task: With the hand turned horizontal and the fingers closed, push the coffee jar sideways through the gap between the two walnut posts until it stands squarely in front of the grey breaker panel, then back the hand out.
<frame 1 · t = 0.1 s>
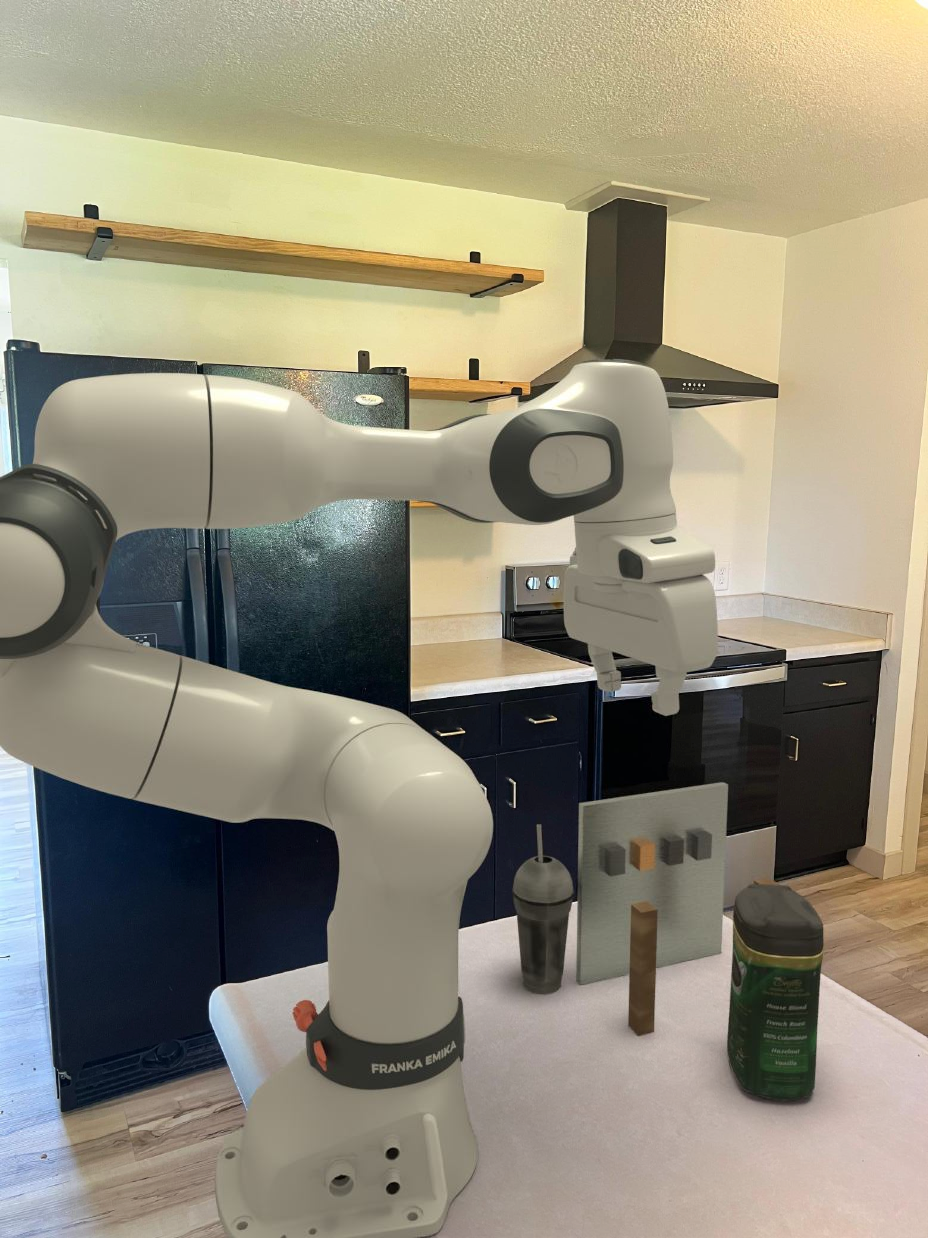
hand: (636, 700, 81), 39 cm above the countertop, tool pointing down, fingers open, 8 cm apart
breaker panel: (650, 966, 109), on the countertop
gate: (702, 1013, 100), on the countertop
coffee jar: (769, 1074, 90), on the countertop
beverage cup: (542, 985, 106), on the countertop
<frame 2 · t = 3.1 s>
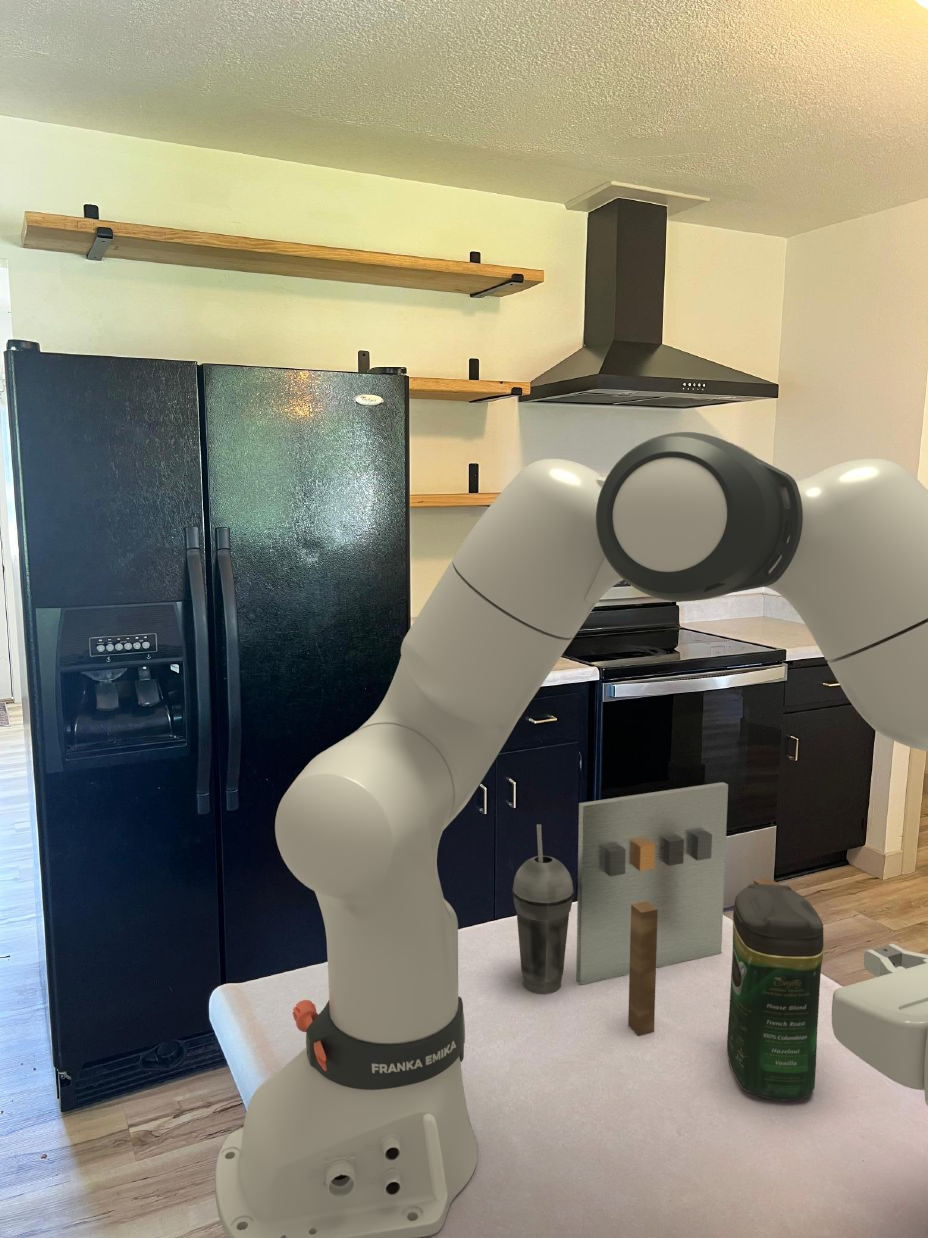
hand: (876, 955, 76), 19 cm above the countertop, tool horizontal, fingers closed
nothing on the countertop moved.
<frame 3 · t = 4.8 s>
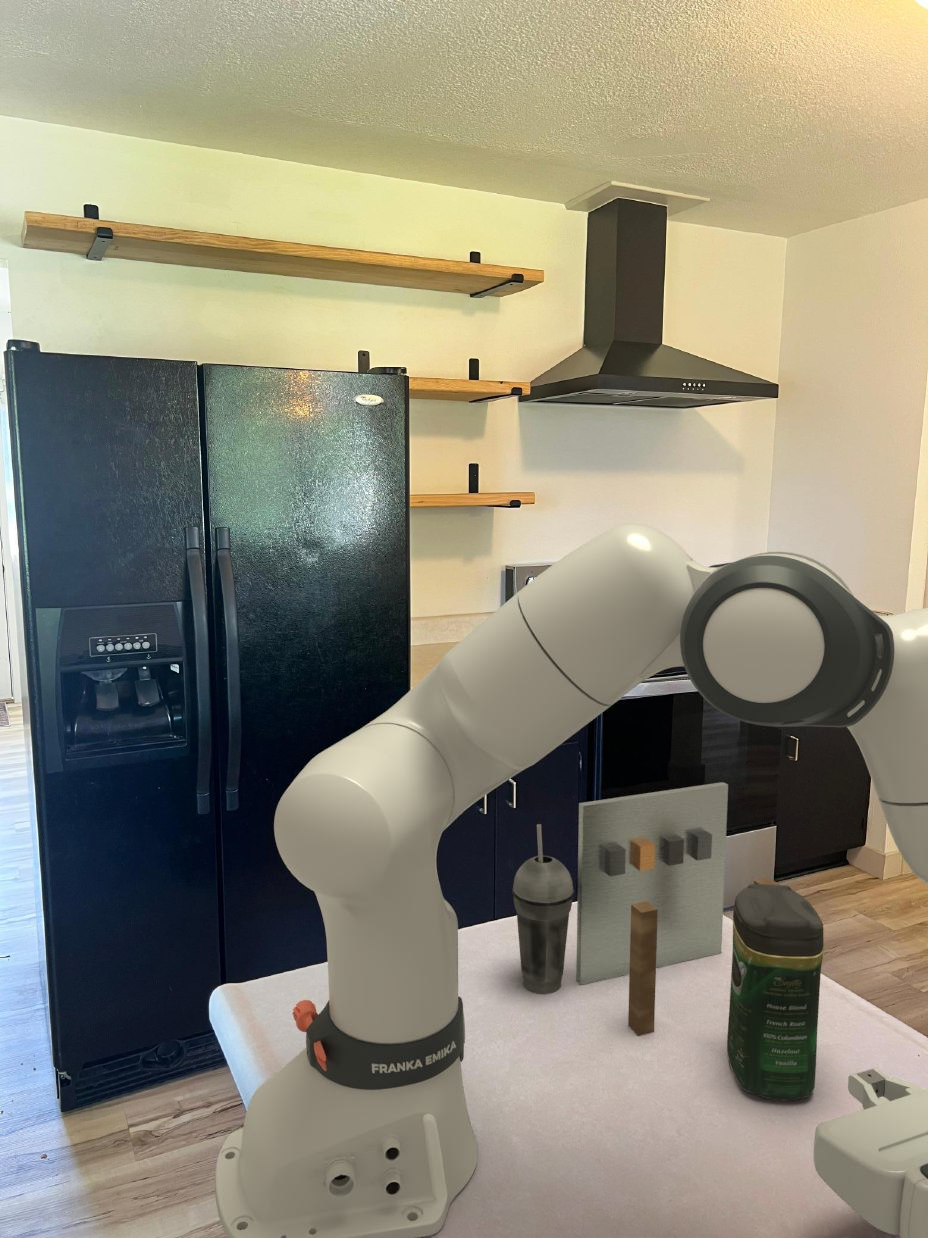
hand: (860, 1078, 78), 7 cm above the countertop, tool horizontal, fingers closed
nothing on the countertop moved.
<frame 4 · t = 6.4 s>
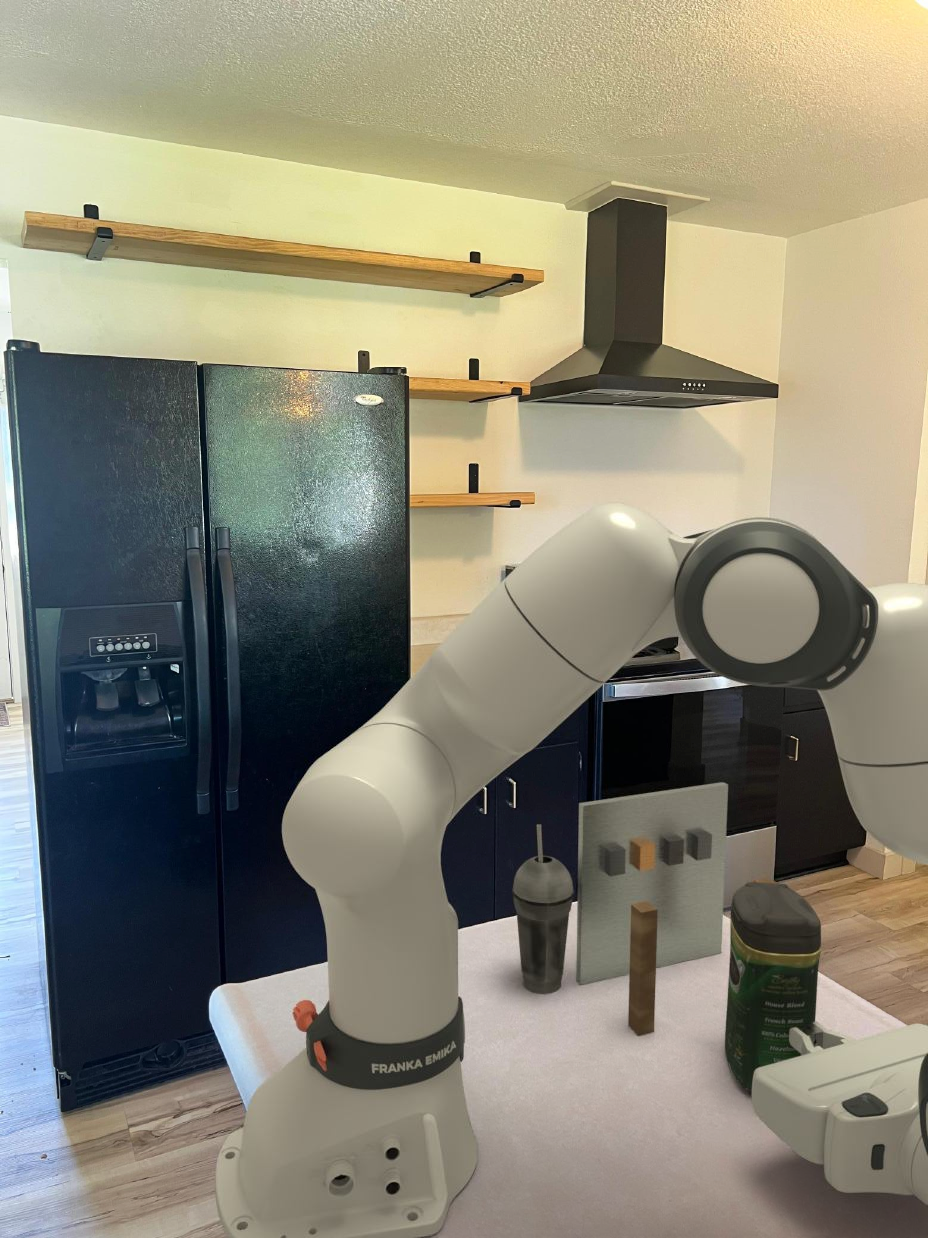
hand: (801, 1031, 85), 7 cm above the countertop, tool horizontal, fingers closed, pressing on coffee jar
coffee jar: (767, 1072, 90), on the countertop, touching gripper
everything else where it was.
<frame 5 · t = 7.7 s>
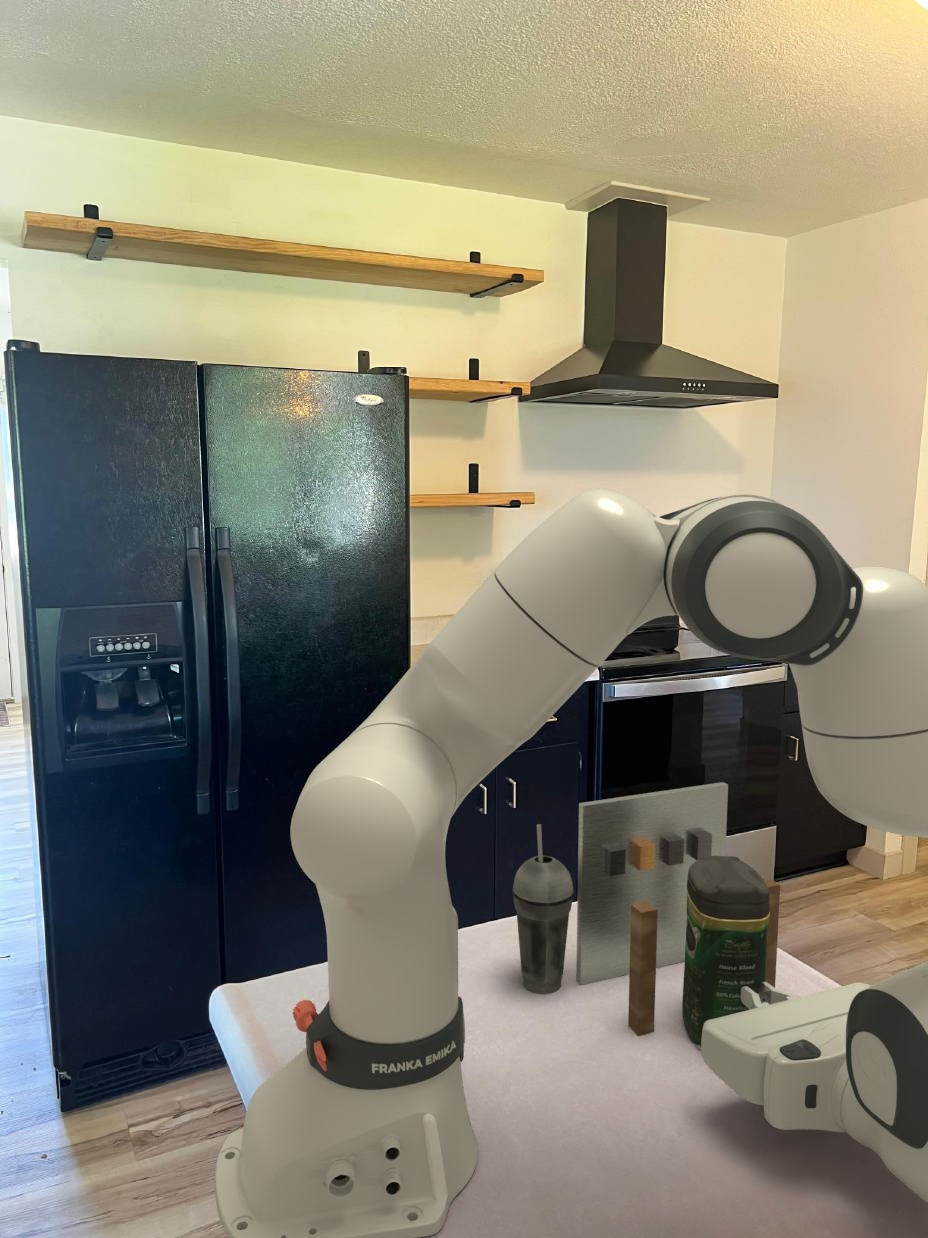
hand: (752, 990, 91), 7 cm above the countertop, tool horizontal, fingers closed, pressing on coffee jar
coffee jar: (721, 1032, 97), on the countertop, touching gripper
everything else where it was.
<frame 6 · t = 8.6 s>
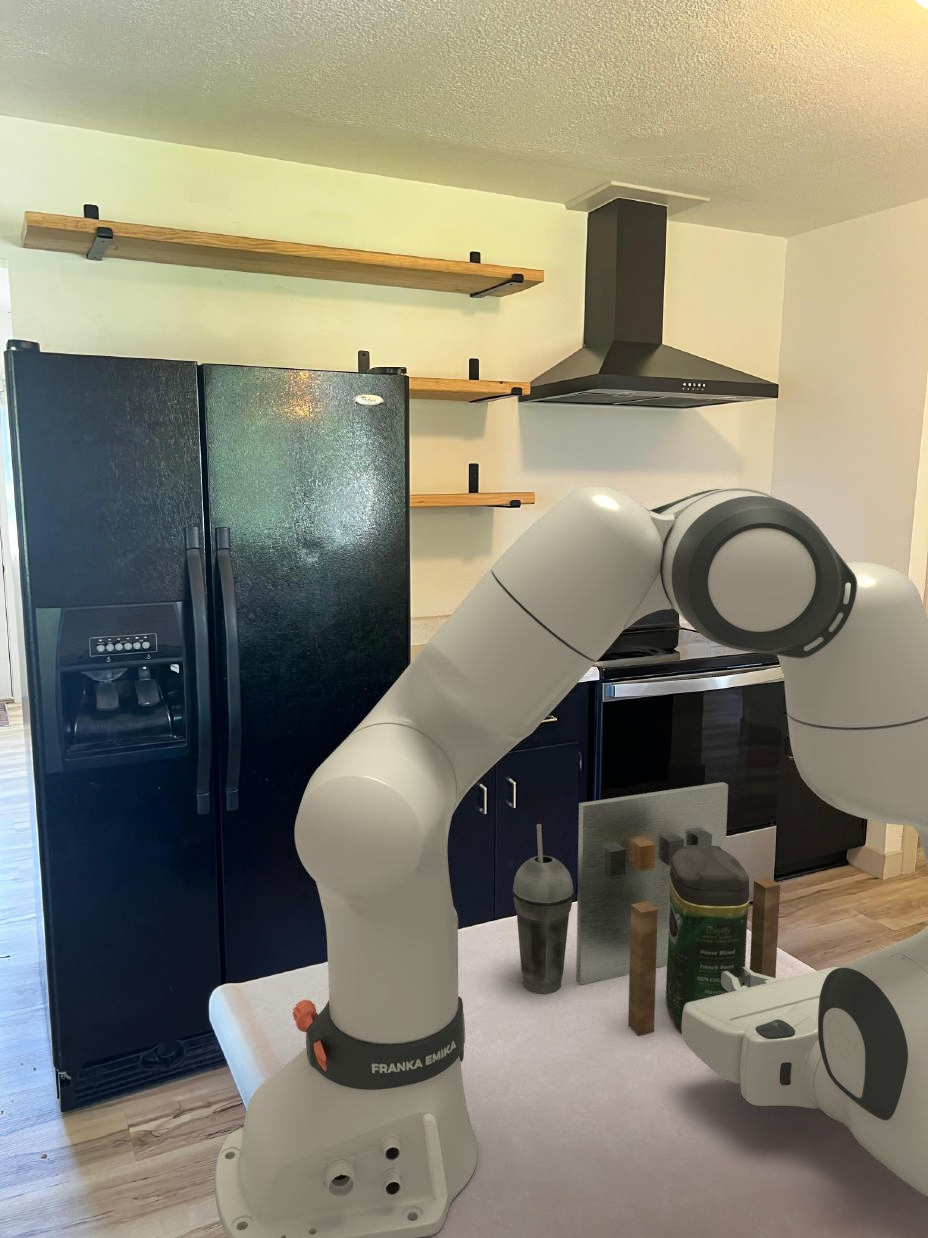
hand: (732, 975, 94), 7 cm above the countertop, tool horizontal, fingers closed, pressing on coffee jar
coffee jar: (703, 1016, 100), on the countertop, touching gripper
everything else where it was.
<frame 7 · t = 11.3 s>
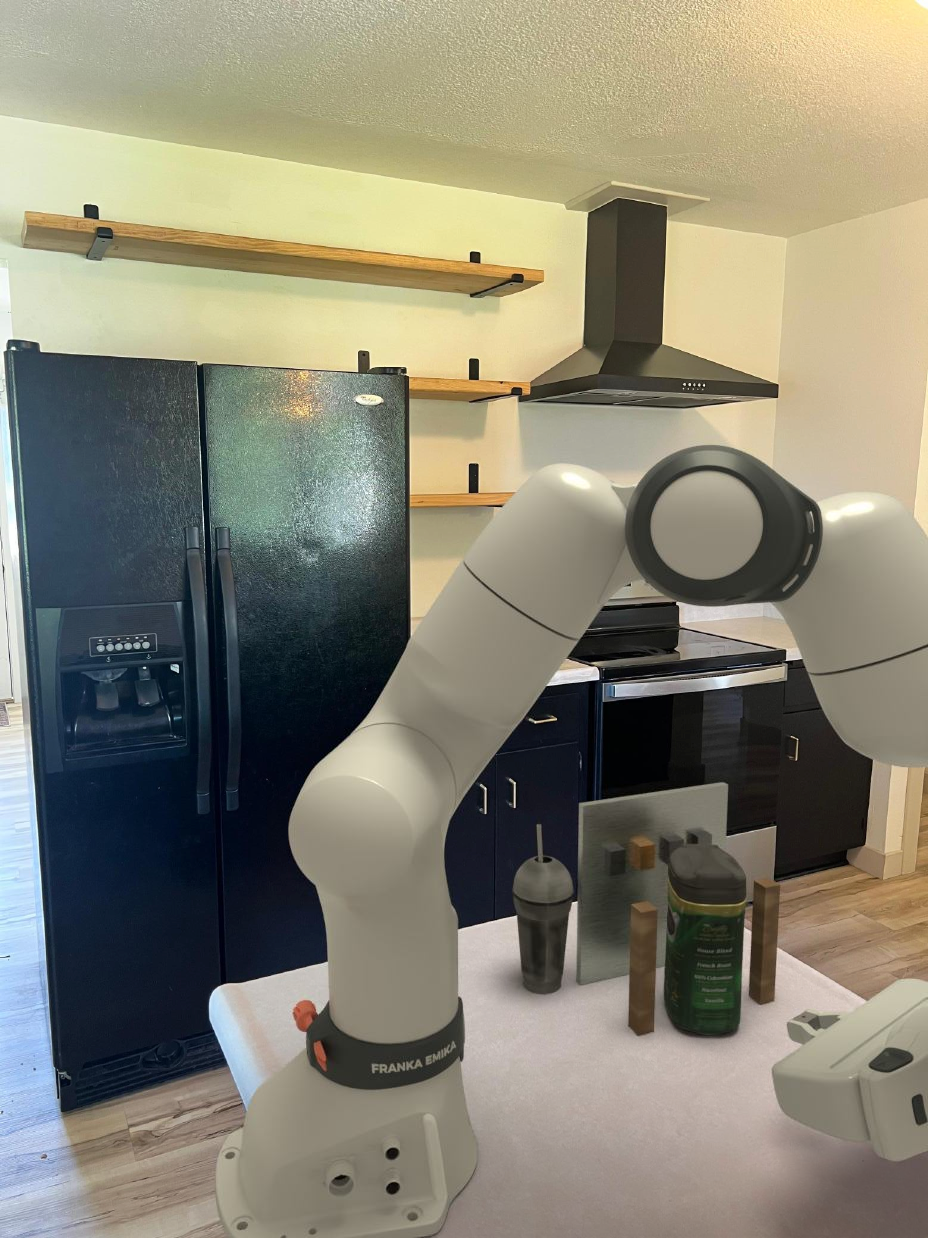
hand: (797, 1024, 82), 10 cm above the countertop, tool horizontal, fingers closed
coffee jar: (701, 1014, 100), on the countertop
everything else where it was.
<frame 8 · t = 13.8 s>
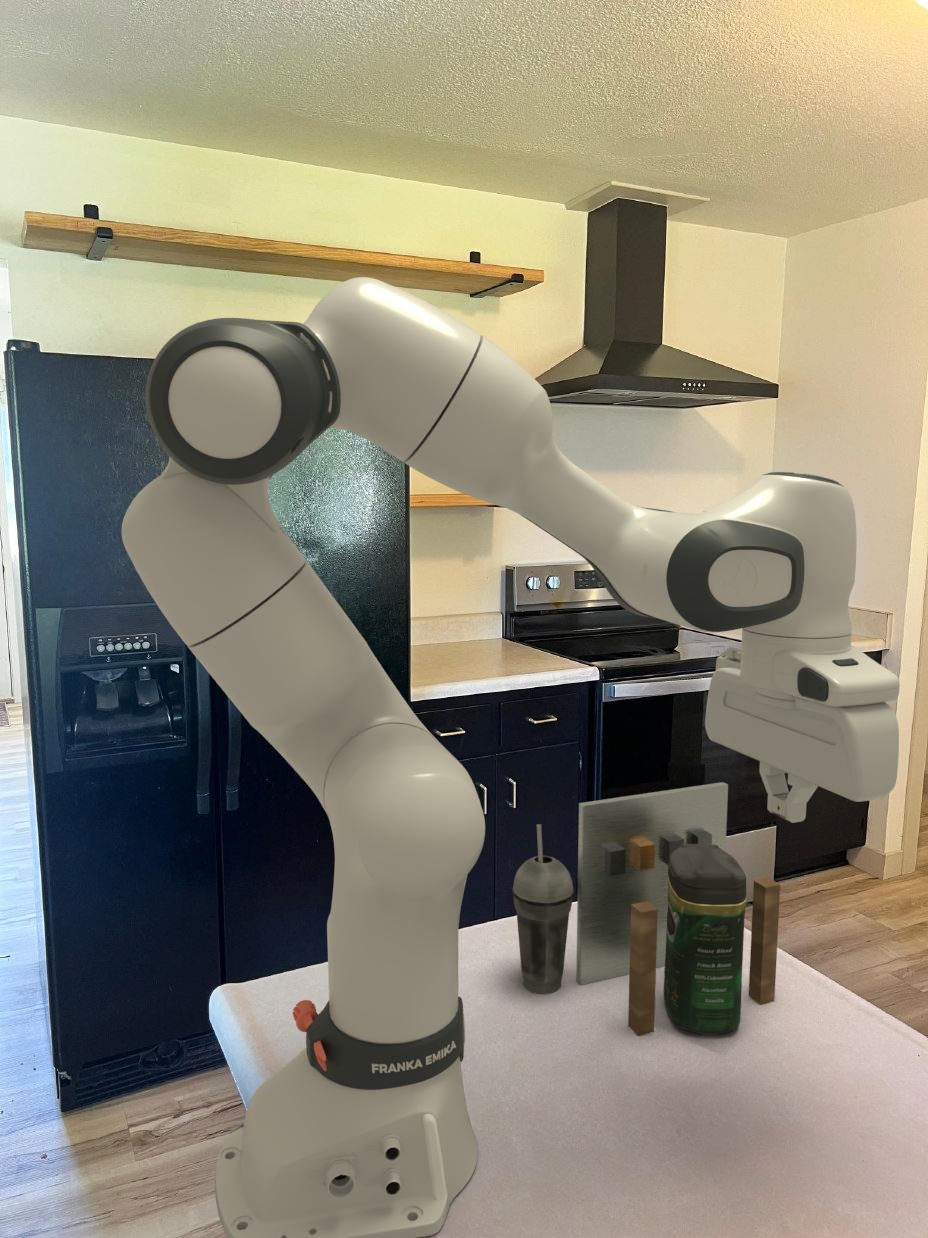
hand: (786, 816, 79), 29 cm above the countertop, tool pointing down, fingers closed
nothing on the countertop moved.
at the end: coffee jar inside the target area (2.3 cm from its centre), on the countertop; coffee jar tilted 0° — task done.
